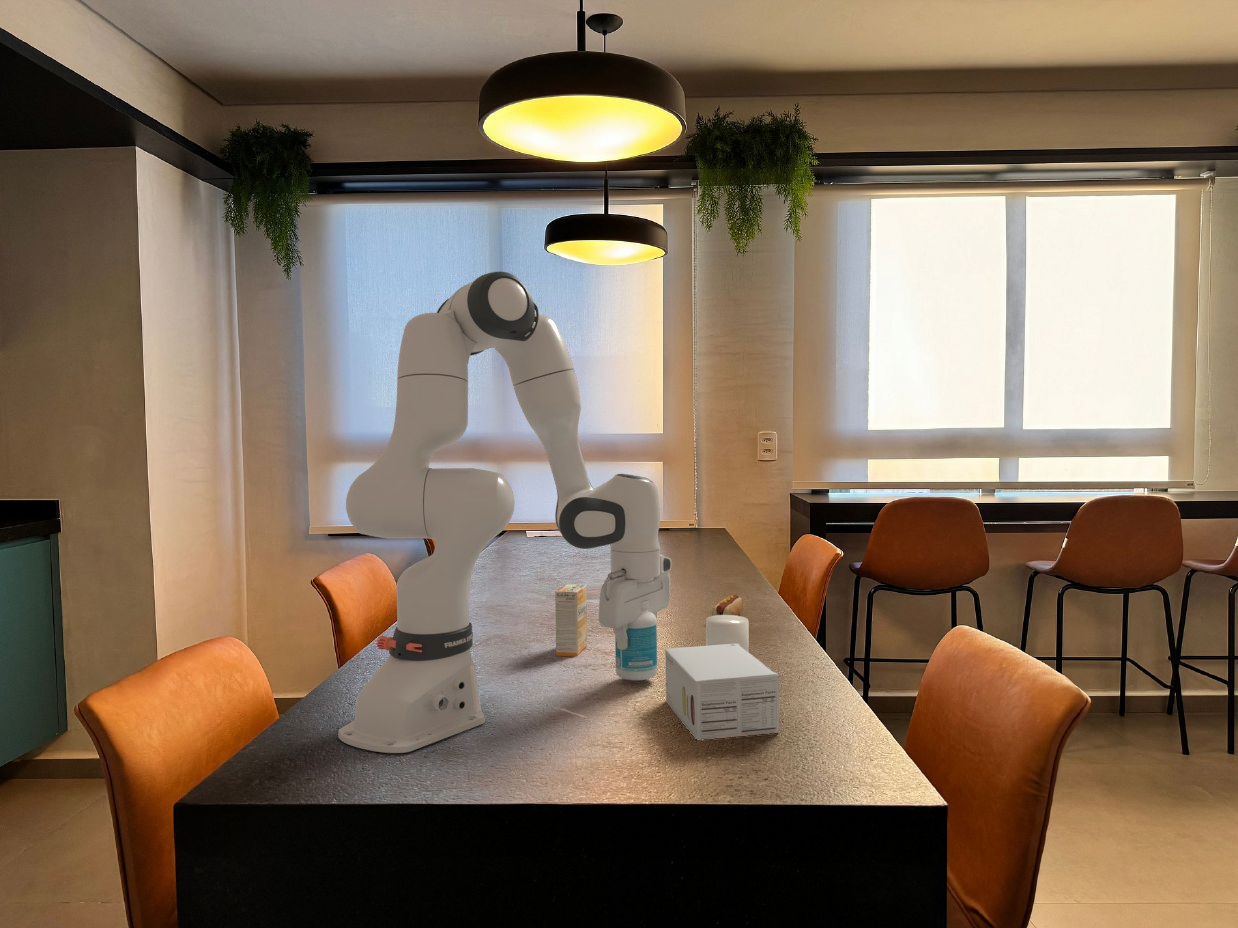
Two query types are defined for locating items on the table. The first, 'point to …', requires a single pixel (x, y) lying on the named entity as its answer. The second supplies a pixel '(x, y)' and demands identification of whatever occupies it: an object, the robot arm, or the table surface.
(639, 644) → the pill bottle
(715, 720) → the supplement box
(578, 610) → the supplement box
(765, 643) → the table surface
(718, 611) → the food
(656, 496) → the robot arm
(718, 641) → the white rounded cylinder
